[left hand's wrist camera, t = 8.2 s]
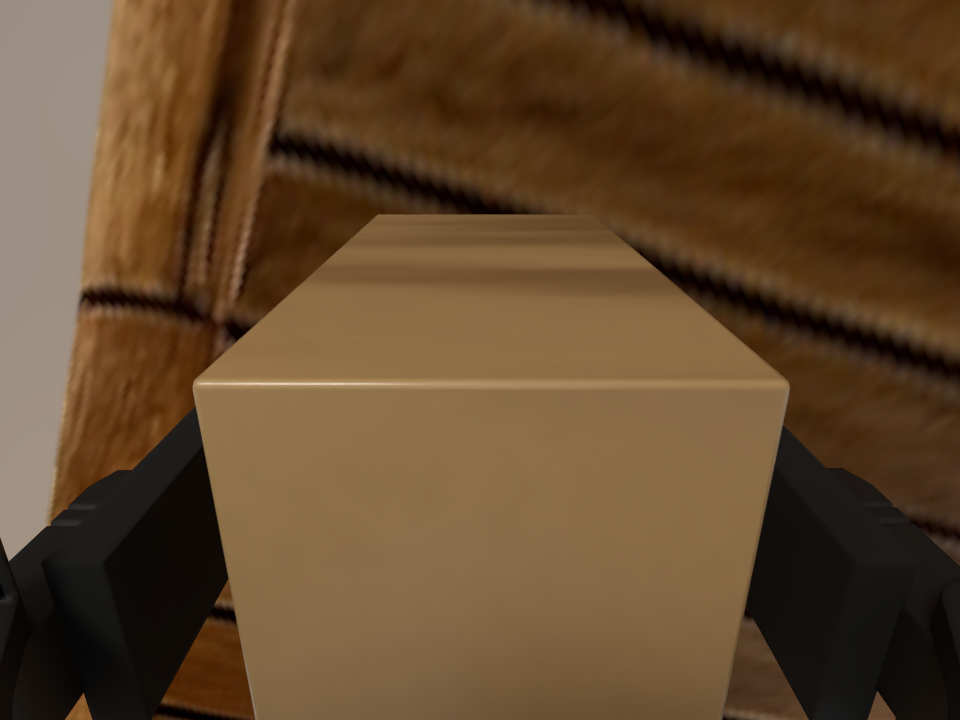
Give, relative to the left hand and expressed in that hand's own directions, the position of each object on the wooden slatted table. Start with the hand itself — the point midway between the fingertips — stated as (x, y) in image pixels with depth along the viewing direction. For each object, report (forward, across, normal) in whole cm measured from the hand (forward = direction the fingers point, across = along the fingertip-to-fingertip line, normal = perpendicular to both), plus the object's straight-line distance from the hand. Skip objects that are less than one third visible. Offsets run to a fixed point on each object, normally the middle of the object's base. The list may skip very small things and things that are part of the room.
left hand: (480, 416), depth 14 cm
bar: (+1, 0, -7) cm, 7 cm away
